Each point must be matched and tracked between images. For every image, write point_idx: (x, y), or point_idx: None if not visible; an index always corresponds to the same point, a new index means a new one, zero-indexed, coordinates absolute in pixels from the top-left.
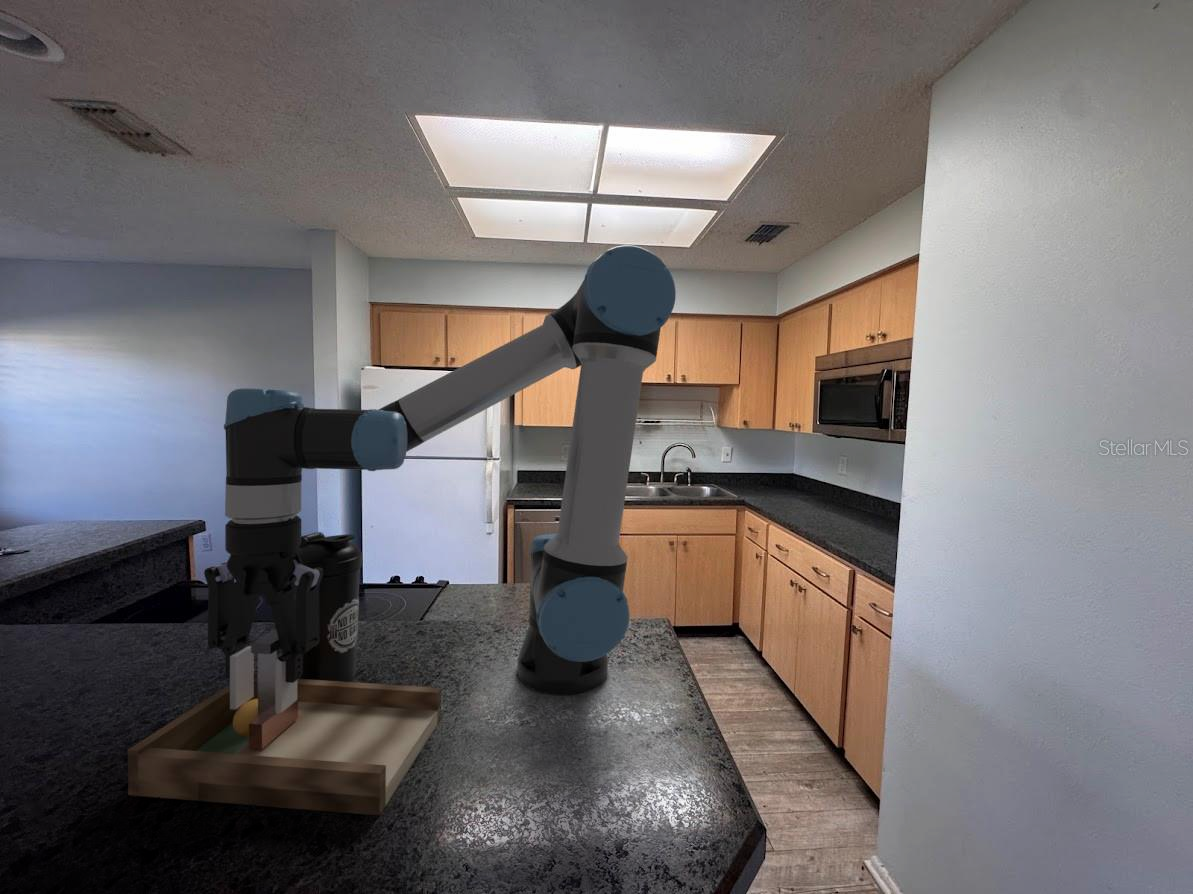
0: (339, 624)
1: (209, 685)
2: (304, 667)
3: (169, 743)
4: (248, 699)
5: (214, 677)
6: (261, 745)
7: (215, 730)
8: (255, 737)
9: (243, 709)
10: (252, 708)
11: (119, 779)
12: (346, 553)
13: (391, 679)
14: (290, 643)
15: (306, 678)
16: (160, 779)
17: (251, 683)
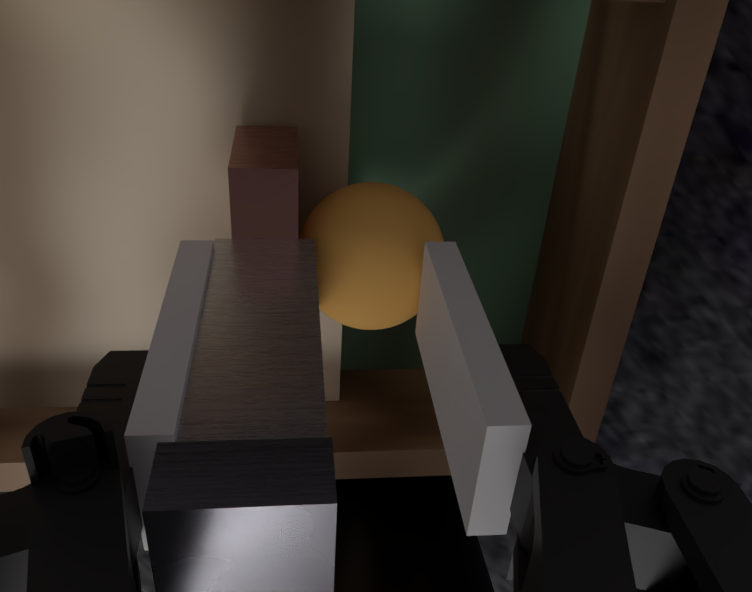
0: None
1: (739, 457)
2: (404, 540)
3: (622, 88)
4: (418, 309)
5: (748, 490)
6: (238, 132)
7: (548, 248)
8: (265, 144)
9: (393, 249)
10: (352, 257)
11: (733, 9)
12: None
13: (140, 555)
14: (28, 553)
15: (390, 505)
16: None
17: (427, 366)
